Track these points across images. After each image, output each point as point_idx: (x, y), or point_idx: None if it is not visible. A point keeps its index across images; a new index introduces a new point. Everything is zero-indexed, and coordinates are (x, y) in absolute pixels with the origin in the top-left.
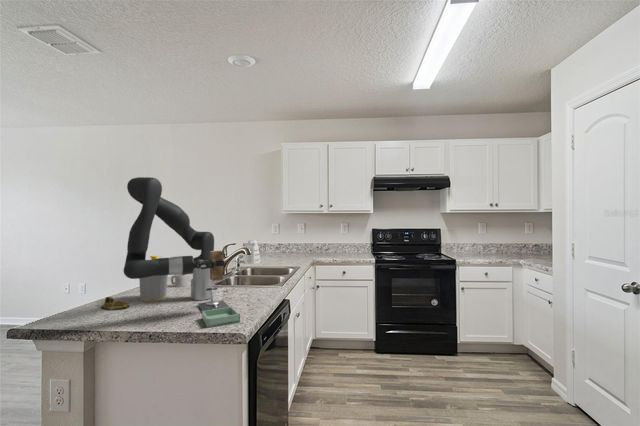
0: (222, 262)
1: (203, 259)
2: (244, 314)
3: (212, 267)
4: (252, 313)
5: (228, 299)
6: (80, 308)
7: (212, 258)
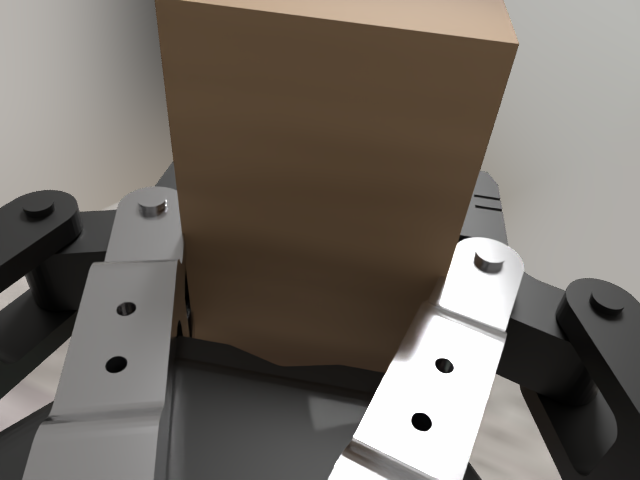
0: (494, 190)
1: (166, 359)
2: (527, 451)
3: (606, 416)
4: (525, 402)
5: (62, 360)
6: None
7: (464, 217)
